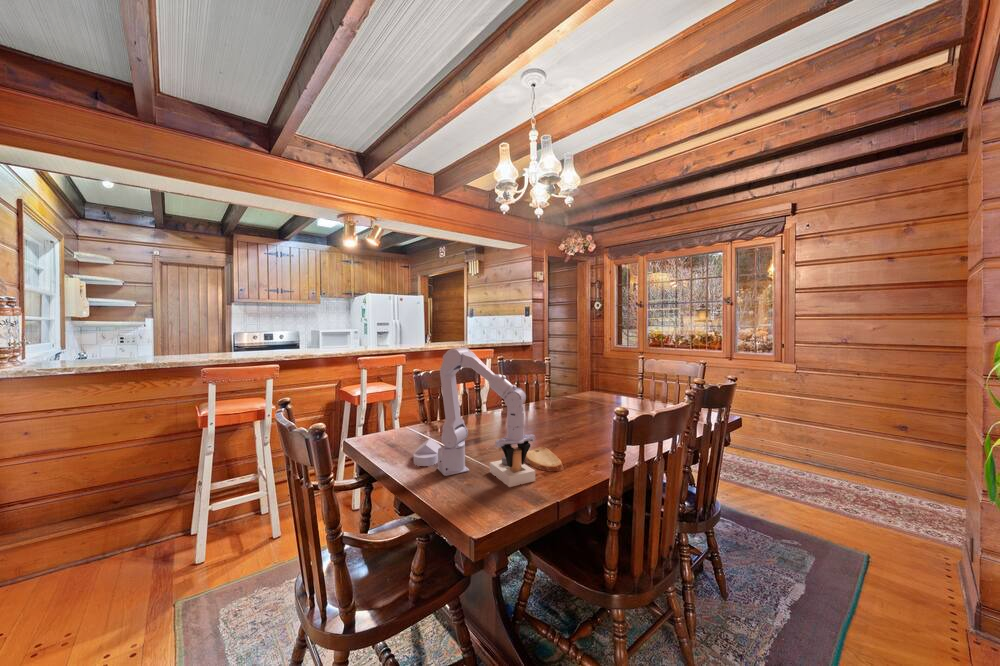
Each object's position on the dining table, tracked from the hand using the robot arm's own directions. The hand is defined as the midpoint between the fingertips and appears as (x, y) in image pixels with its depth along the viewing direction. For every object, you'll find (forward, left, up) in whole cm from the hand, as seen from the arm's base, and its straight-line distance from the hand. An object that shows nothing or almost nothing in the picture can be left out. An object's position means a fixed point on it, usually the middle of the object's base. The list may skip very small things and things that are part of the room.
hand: (515, 464), depth 131 cm
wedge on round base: (-21, +31, -5) cm, 38 cm away
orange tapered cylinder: (0, 0, -2) cm, 2 cm away
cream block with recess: (0, +2, -5) cm, 6 cm away
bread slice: (+18, +9, -6) cm, 21 cm away
